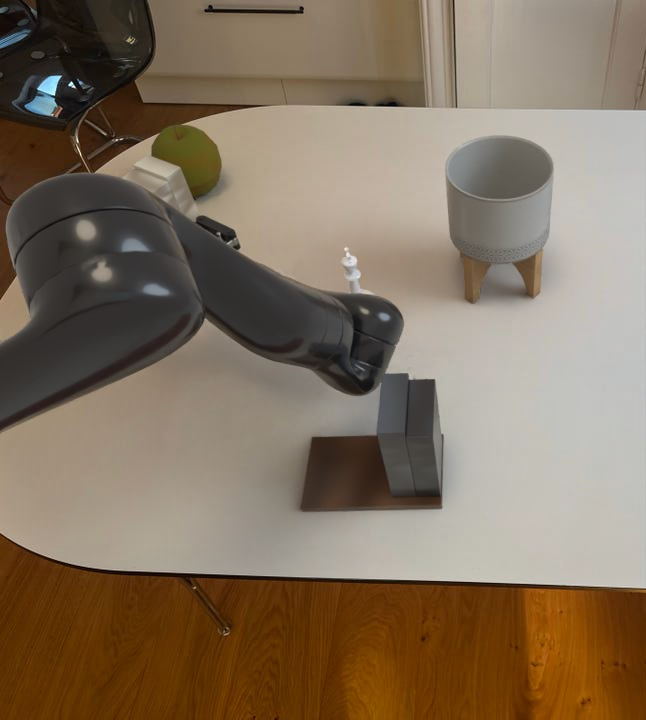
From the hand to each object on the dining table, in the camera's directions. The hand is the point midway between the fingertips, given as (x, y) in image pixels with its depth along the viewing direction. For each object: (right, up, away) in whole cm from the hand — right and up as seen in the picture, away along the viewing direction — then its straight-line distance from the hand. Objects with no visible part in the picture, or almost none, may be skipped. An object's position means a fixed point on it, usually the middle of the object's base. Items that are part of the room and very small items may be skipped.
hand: (133, 245), depth 83 cm
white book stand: (-4, -1, +17) cm, 17 cm away
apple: (-4, +14, +29) cm, 32 cm away
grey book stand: (+29, -26, -5) cm, 40 cm away
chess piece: (+25, -6, +11) cm, 28 cm away
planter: (+43, -2, +15) cm, 46 cm away
